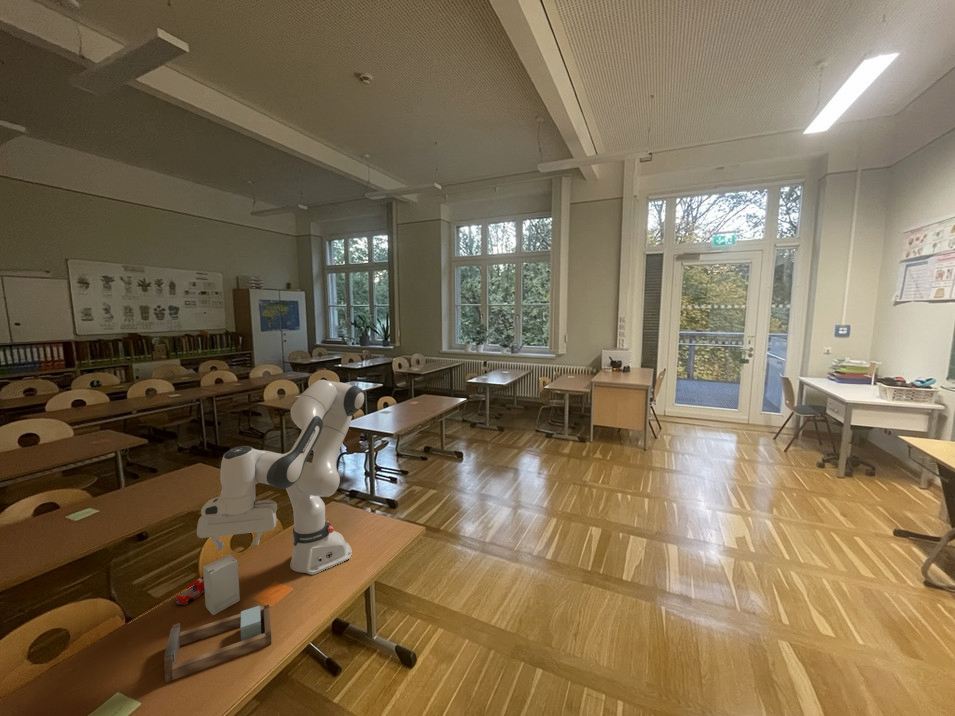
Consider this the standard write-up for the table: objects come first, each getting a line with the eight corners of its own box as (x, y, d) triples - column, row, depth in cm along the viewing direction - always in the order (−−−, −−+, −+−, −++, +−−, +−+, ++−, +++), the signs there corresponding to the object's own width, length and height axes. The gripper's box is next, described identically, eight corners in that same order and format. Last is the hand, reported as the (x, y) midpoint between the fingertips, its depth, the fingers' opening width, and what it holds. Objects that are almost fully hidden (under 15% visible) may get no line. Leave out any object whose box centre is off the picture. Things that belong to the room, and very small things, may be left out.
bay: (269, 613, 121) (268, 595, 121) (271, 644, 110) (270, 624, 109) (173, 644, 109) (172, 625, 108) (164, 683, 97) (162, 661, 97)
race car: (183, 609, 122) (183, 597, 122) (171, 605, 124) (170, 593, 124) (222, 582, 135) (221, 572, 134) (210, 579, 136) (210, 568, 136)
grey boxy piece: (260, 622, 117) (260, 604, 117) (261, 640, 111) (260, 621, 110) (241, 629, 115) (241, 610, 114) (241, 647, 108) (240, 628, 108)
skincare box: (232, 594, 129) (231, 552, 128) (240, 601, 126) (239, 559, 124) (203, 608, 122) (202, 565, 121) (211, 617, 119) (209, 572, 117)
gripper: (279, 494, 119) (278, 537, 120) (202, 500, 113) (203, 545, 114) (274, 503, 113) (274, 547, 114) (194, 510, 107) (194, 557, 108)
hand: (238, 546), depth 114 cm, fingers open, 8 cm apart
